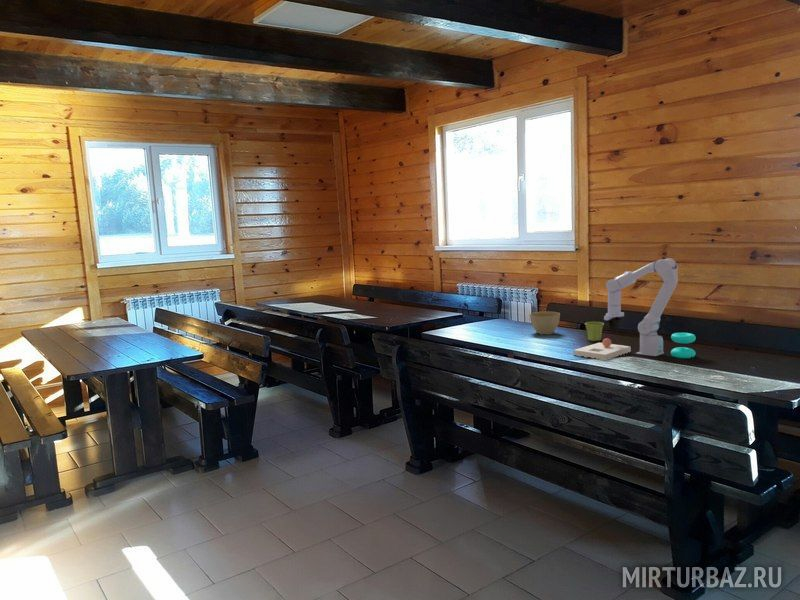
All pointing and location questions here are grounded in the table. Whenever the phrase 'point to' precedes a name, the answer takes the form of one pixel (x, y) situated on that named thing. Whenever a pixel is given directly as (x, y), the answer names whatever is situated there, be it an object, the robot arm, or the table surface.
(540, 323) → the planter bowl
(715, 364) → the table surface
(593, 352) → the deck
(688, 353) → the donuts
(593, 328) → the plant pot
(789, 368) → the table surface
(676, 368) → the table surface
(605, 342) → the ball
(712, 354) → the table surface
